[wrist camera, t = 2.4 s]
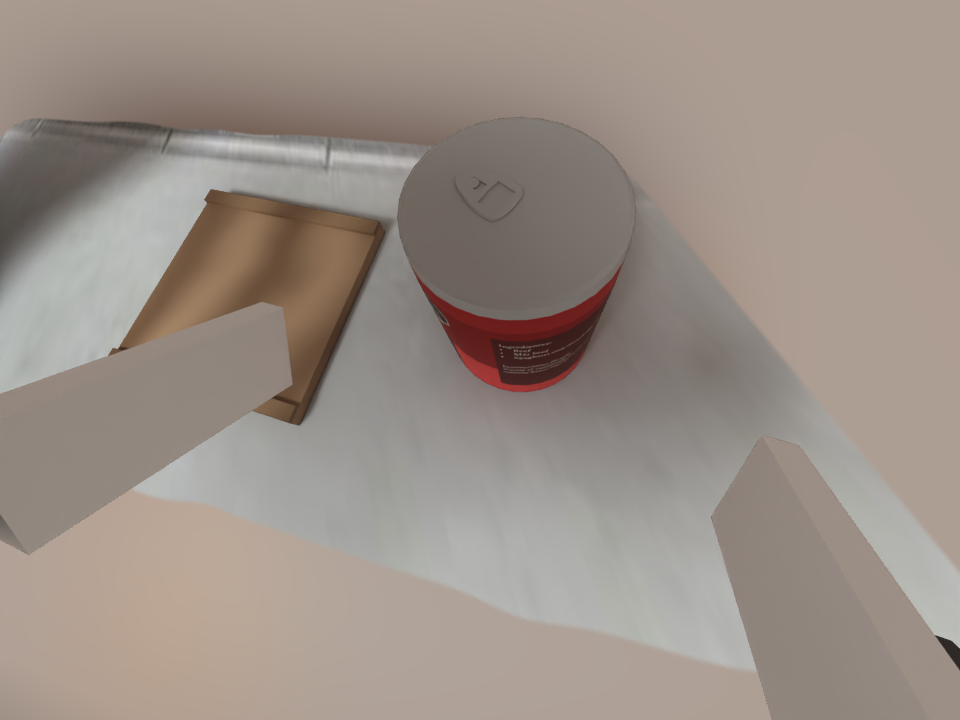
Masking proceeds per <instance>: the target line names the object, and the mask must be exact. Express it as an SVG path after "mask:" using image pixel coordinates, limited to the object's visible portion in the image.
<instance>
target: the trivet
mask: <svg viewBox="0 0 960 720" xmlns="http://www.w3.org/2000/svg"><path fill="white" fill-rule="evenodd" d="M204 200H205V201H206V202H207V204H206V206H205V208H204V209H203V211H202V213H201V214H200V216H199V218H198V219H197V221H196V222H195V224H194V226H193V227H192V229H191V231H190V232H189V234H188V236H187V237H186V239H185V240H184V242H183V244H182V245H181V247H180V249H179V250H178V252H177V254H176V255H175V257H174V258H173V260H172V262H171V263H170V265H169V267H168V268H167V270H166V271H165V273H164V275H163V276H162V278H161V280H160V281H159V283H158V285H157V286H156V288H155V289H154V291H153V293H152V294H151V296H150V298H149V299H148V301H147V303H146V304H145V306H144V307H143V309H142V311H141V312H140V314H139V316H138V317H137V319H136V321H135V322H134V324H133V325H132V327H131V329H130V330H129V332H128V334H127V335H126V337H125V338H124V340H123V342H122V343H121V345H120V347H119V348H118V349H115V348H113V349H112V350H111V352H110V354H109V355H108V356H110V355H113V354H115V353H118V352H121V351H124V350H127V349H130V348H133V347H135V346H138V345H141V344H144V343H147V342H150V341H152V340H155V339H158V338H161V337H164V336H167V335H169V334H172V333H175V332H178V331H181V330H184V329H186V328H189V327H192V326H195V325H198V324H201V323H204V322H206V321H209V320H212V319H215V318H218V317H221V316H223V315H226V314H229V313H232V312H235V311H238V310H240V309H243V308H246V307H249V306H252V305H255V304H257V303H260V302H265V303H268V304H272V305H276V306H280V307H283V310H284V318H285V327H286V335H287V343H288V351H289V359H290V367H291V375H292V383H293V384H292V385H291V386H289V387H288V388H286V389H285V390H283V391H282V392H280V393H279V394H277V395H275V396H274V397H272V398H271V399H269V400H268V401H266V402H265V403H263V404H261V405H260V406H258V407H257V408H255V409H254V410H252V411H254V412H257V413H260V414H264V415H267V416H270V417H273V418H276V419H279V420H282V421H285V422H288V423H291V424H295V425H300V423H301V421H302V418H303V416H304V414H305V411H306V409H307V407H308V405H309V402H310V400H311V398H312V396H313V393H314V391H315V389H316V387H317V384H318V382H319V380H320V377H321V375H322V373H323V371H324V368H325V366H326V364H327V362H328V359H329V357H330V355H331V352H332V350H333V348H334V346H335V343H336V341H337V339H338V337H339V334H340V332H341V330H342V328H343V325H344V323H345V321H346V318H347V316H348V314H349V312H350V309H351V307H352V305H353V303H354V300H355V298H356V296H357V294H358V291H359V289H360V287H361V284H362V282H363V280H364V278H365V275H366V273H367V271H368V269H369V266H370V264H371V262H372V260H373V257H374V255H375V253H376V250H377V248H378V246H379V244H380V241H381V239H382V237H383V235H384V232H385V231H384V230H383V228H382V226H381V224H380V223H379V221H375V220H369V219H364V218H359V217H354V216H348V215H343V214H338V213H333V212H328V211H322V210H317V209H312V208H307V207H301V206H296V205H291V204H286V203H280V202H275V201H270V200H265V199H259V198H254V197H249V196H244V195H238V194H233V193H228V192H223V191H218V190H212V189H211V190H210V191H209V193H208V195H207V196H206V198H205V199H204Z"/></svg>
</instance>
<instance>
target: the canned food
mask: <svg viewBox="0 0 960 720" xmlns="http://www.w3.org/2000/svg"><path fill="white" fill-rule="evenodd" d="M635 214H636V207H635V200H634V193H633V189H632V187H631V184H630V182H629V179H628V177H627V174H626V172H625V171H624V169H623V168H622V166H621V165H620V164H619V162H618V161H617V159H616V158H615V157H614V156H613V155H612V154H611V153H610V152H609V151H608V150H607V149H606V148H605V147H603V145H601V144H600V143H599V142H598V141H596V140H594V139H593V138H591V137H590V136H588V135H587V134H585V133H583V132H581V131H579V130H577V129H574V128H572V127H569V126H567V125H564V124H562V123H557V122H553V121H549V120H544V119H537V118H524V117H516V118H502V119H495V120H491V121H486V122H481V123H478V124H475V125H473V126H470V127H467V128H464V129H462V130H459V131H457V132H456V133H454V134H452V135H450V136H449V137H447V138H445V139H443V140H442V141H440V142H439V143H438V144H436V145H435V146H434V147H433V148H431V149H430V150H429V151H428V152H427V153H426V154H425V155H424V156H423V157H422V158H421V159H420V161H419V162H418V163H417V164H416V165H415V166H414V168H413V169H412V171H411V173H410V175H409V176H408V178H407V180H406V181H405V183H404V186H403V189H402V193H401V196H400V199H399V205H398V216H397V220H398V227H399V235H400V238H401V241H402V243H403V248H404V250H405V253H406V256H407V258H408V261H409V263H410V266H411V267H412V269H413V271H414V273H415V275H416V277H417V279H418V282H419V284H420V285H421V287H422V289H423V291H424V293H425V295H426V296H427V298H428V300H429V302H430V304H431V306H432V307H433V309H434V311H435V313H436V315H437V317H438V318H439V320H440V322H441V324H442V326H443V328H444V329H445V331H446V333H447V335H448V337H449V339H450V340H451V342H452V344H453V346H454V348H455V350H456V351H457V353H458V355H459V357H460V358H461V360H462V361H463V363H464V364H465V366H466V367H467V368H468V369H469V370H470V371H471V372H472V373H473V374H474V375H475V376H476V377H478V378H479V379H481V380H482V381H484V382H485V383H487V384H490V385H492V386H494V387H497V388H499V389H503V390H508V391H513V392H529V391H535V390H541V389H544V388H546V387H549V386H552V385H554V384H556V383H557V382H559V381H560V380H562V379H564V378H565V377H566V376H567V375H568V374H569V373H570V372H571V371H572V370H573V369H574V368H575V367H576V365H577V364H578V362H579V361H580V359H581V358H582V356H583V354H584V351H585V349H586V347H587V345H588V342H589V340H590V338H591V336H592V333H593V331H594V329H595V327H596V324H597V322H598V320H599V318H600V316H601V313H602V311H603V309H604V307H605V304H606V302H607V300H608V298H609V295H610V293H611V291H612V289H613V286H614V284H615V282H616V280H617V277H618V274H619V272H620V269H621V266H622V264H623V262H624V259H625V257H626V254H627V251H628V249H629V246H630V243H631V238H632V233H633V231H634V223H635Z"/></svg>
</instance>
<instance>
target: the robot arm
mask: <svg viewBox="0 0 960 720" xmlns="http://www.w3.org/2000/svg"><path fill="white" fill-rule="evenodd" d="M292 384H293V383H292V375H291V367H290V359H289V351H288V343H287V335H286V327H285V318H284V310H283V307H280V306H276V305H272V304H268V303H265V302H260V303H257V304H255V305H252V306H249V307H246V308H243V309H240V310H238V311H235V312H232V313H229V314H226V315H223V316H221V317H218V318H215V319H212V320H209V321H206V322H204V323H201V324H198V325H195V326H192V327H189V328H186V329H184V330H181V331H178V332H175V333H172V334H169V335H167V336H164V337H161V338H158V339H155V340H152V341H150V342H147V343H144V344H141V345H138V346H135V347H133V348H130V349H127V350H124V351H121V352H118V353H115V354H113V355H110V356H107V357H104V358H101V359H98V360H96V361H93V362H90V363H87V364H84V365H81V366H79V367H76V368H73V369H70V370H67V371H64V372H61V373H59V374H56V375H53V376H50V377H47V378H44V379H42V380H39V381H36V382H33V383H30V384H27V385H25V386H22V387H19V388H16V389H13V390H10V391H8V392H5V393H2V394H0V540H1V541H3V542H5V543H7V544H9V545H11V546H13V547H15V548H16V549H18V550H20V551H22V552H24V553H26V554H28V555H29V554H31V553H32V552H34V551H35V550H37V549H39V548H40V547H42V546H43V545H45V544H46V543H48V542H49V541H51V540H52V539H54V538H56V537H57V536H59V535H60V534H62V533H63V532H65V531H66V530H68V529H69V528H71V527H73V526H74V525H76V524H77V523H79V522H80V521H82V520H84V519H85V518H87V517H88V516H90V515H91V514H93V513H94V512H96V511H97V510H99V509H100V508H102V507H104V506H105V505H107V504H108V503H110V502H111V501H113V500H114V499H116V498H118V497H119V496H121V495H122V494H124V493H125V492H127V491H128V490H130V489H131V488H133V487H135V486H136V485H138V484H139V483H141V482H142V481H144V480H145V479H147V478H149V477H150V476H152V475H153V474H155V473H156V472H158V471H159V470H161V469H162V468H164V467H166V466H167V465H169V464H170V463H172V462H173V461H175V460H176V459H178V458H179V457H181V456H183V455H184V454H186V453H187V452H189V451H190V450H192V449H193V448H195V447H196V446H198V445H200V444H201V443H203V442H204V441H206V440H207V439H209V438H210V437H212V436H214V435H215V434H217V433H218V432H220V431H221V430H223V429H224V428H226V427H227V426H229V425H231V424H232V423H234V422H235V421H237V420H238V419H240V418H241V417H243V416H244V415H246V414H248V413H249V412H251V411H252V410H254V409H255V408H257V407H258V406H260V405H261V404H263V403H265V402H266V401H268V400H269V399H271V398H272V397H274V396H275V395H277V394H279V393H280V392H282V391H283V390H285V389H286V388H288V387H289V386H291V385H292ZM711 518H712V522H713V525H714V528H715V532H716V535H717V538H718V542H719V545H720V548H721V552H722V555H723V558H724V562H725V565H726V568H727V572H728V575H729V578H730V582H731V585H732V588H733V592H734V595H735V598H736V602H737V605H738V608H739V612H740V615H741V618H742V622H743V625H744V628H745V631H746V635H747V638H748V641H749V645H750V648H751V651H752V655H753V658H754V661H755V665H756V668H757V671H758V675H759V678H760V681H761V685H762V688H763V691H764V695H765V698H766V701H767V705H768V708H769V711H770V715H771V718H772V720H960V648H959V647H958V646H956V645H955V644H954V643H953V642H952V641H951V640H948V639H945V638H942V637H939V636H936V635H934V634H933V632H932V631H931V630H930V628H929V627H928V625H927V624H926V622H925V621H924V620H923V618H922V617H921V615H920V614H919V613H918V611H917V610H916V608H915V607H914V606H913V604H912V603H911V601H910V600H909V599H908V597H907V596H906V594H905V593H904V592H903V590H902V589H901V587H900V586H899V585H898V583H897V582H896V580H895V579H894V578H893V576H892V575H891V573H890V572H889V571H888V569H887V568H886V566H885V565H884V564H883V562H882V561H881V559H880V558H879V557H878V555H877V554H876V552H875V551H874V550H873V548H872V547H871V545H870V544H869V543H868V541H867V540H866V538H865V537H864V536H863V534H862V533H861V531H860V530H859V529H858V527H857V526H856V524H855V523H854V521H853V520H852V519H851V517H850V516H849V514H848V513H847V512H846V510H845V509H844V507H843V506H842V505H841V503H840V502H839V500H838V499H837V498H836V496H835V495H834V493H833V492H832V491H831V489H830V488H829V486H828V485H827V484H826V482H825V481H824V479H823V478H822V477H821V475H820V474H819V472H818V471H817V470H816V468H815V467H814V465H813V464H812V463H811V461H810V460H809V458H808V457H807V456H806V454H805V453H804V451H803V450H802V449H801V447H800V446H799V445H796V444H792V443H789V442H785V441H781V440H777V439H774V438H770V437H766V436H761V437H760V439H759V440H758V442H757V444H756V445H755V447H754V448H753V450H752V452H751V453H750V455H749V457H748V458H747V460H746V461H745V463H744V465H743V466H742V468H741V469H740V471H739V473H738V474H737V476H736V477H735V479H734V481H733V482H732V484H731V485H730V487H729V489H728V490H727V492H726V493H725V495H724V497H723V498H722V500H721V501H720V503H719V505H718V506H717V508H716V509H715V511H714V513H713V514H712V516H711Z"/></svg>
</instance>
